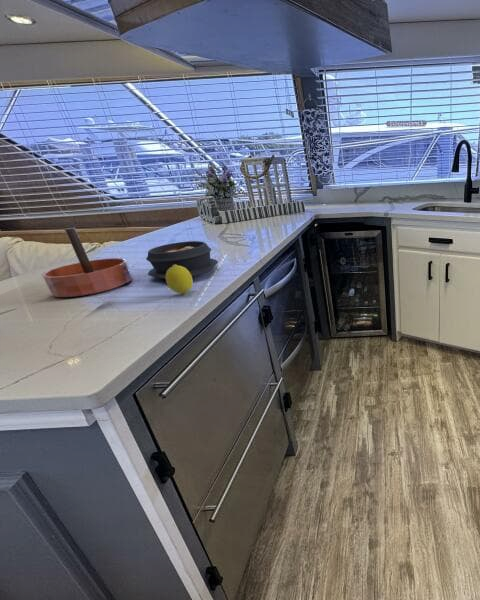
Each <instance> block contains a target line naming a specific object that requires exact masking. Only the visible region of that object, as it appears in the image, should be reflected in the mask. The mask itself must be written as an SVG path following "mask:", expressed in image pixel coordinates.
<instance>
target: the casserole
mask: <svg viewBox="0 0 480 600" xmlns="http://www.w3.org/2000/svg"><path fill="white" fill-rule="evenodd" d="M211 251H212V247H209V245H208V244H207V242H205V241H197V240H191V241H181V242H179V241H178V242H172V243H168V244H163V245H159V246H156V247H153V248H150V249H149V250H148V251H147V256H146V258H145V260H146V261H147V262H149V263H150V265H151V266H152V268H151V269H150V270H149V271H148V272H147V276H150V277H153V278H161V279H164V280H166V272H167V270H168V269H169V268H171V267H172V266H173V265H177V266H182V267H184V268H186V269H187V270H188V271H189V272H190V274H191V276H192V277H197V276H201V275H203V274H207V273H209V272H211V271H213V269H214V267H215V266H217V265H218V263H219V261H218V260H217V259H215V258H211Z"/></svg>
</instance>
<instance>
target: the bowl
mask: <svg viewBox="0 0 480 600" xmlns="http://www.w3.org/2000/svg"><path fill="white" fill-rule="evenodd" d="M89 261H90V263H91V266H92V268H93V270H94V272H90V273H84V271H83V269H82V267H81V264H80V262H79V261H78V262H75V263H70V264H66V265H62V266H58V267H55V268H52V269H49V270H46V271H44V272H43V273H42V274H41V277H42V279H43V281H44V283H45V285H46V287H47V288H48V290H49V293H50V294H51V295H52V297H57V298H70V297H71V298H73V297H74V298H75V297H83V296H84V297H85V296H89V295H95V294H100V293H103V292H107V291H110V290H113V289H116V288H118V287H121V286H123V285H125V284H128V283H130V282H131V281H132V280H133V275H132V273H131V270H130V267H129V265H128V262H127V260H126V259H124V258H119V257H118V258H117V257H114V258H113V257H111V258H110V257H109V258H100V259H92V260H89Z"/></svg>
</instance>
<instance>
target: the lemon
mask: <svg viewBox="0 0 480 600" xmlns="http://www.w3.org/2000/svg"><path fill="white" fill-rule="evenodd" d="M165 282H166V285H167V286H168V288H169V289H170V290H171V291H172V292H174V293H177V294H181V295H186V294H187V292H189V291H191V289H192V288H193V285H194V280H193V276H191V274H190V272H189V271H188V270H187V269H186V268H184V267H182V266H177V265H173V266H172V267H171V268H169V269H168V270H167V272H166V279H165Z"/></svg>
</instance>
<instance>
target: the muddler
mask: <svg viewBox="0 0 480 600" xmlns="http://www.w3.org/2000/svg"><path fill="white" fill-rule="evenodd" d="M64 232H65V234H66V236H67V238H68V240H69V242H70V244H71V246H72V249H73V251H74V253H75V256H76V258H77V260H78V263H79V262H80V264H81V267H82V269H83V271H84V273H90V272H94V270H93V268H92V266H91V263H90V261H91V260H90V259H89V257H88V254H87V252H86V250H85V248H84V245H83V244H82V241H81V239H80V236H79V234H78V231H77V229H76V227H68V228H64Z"/></svg>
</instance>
